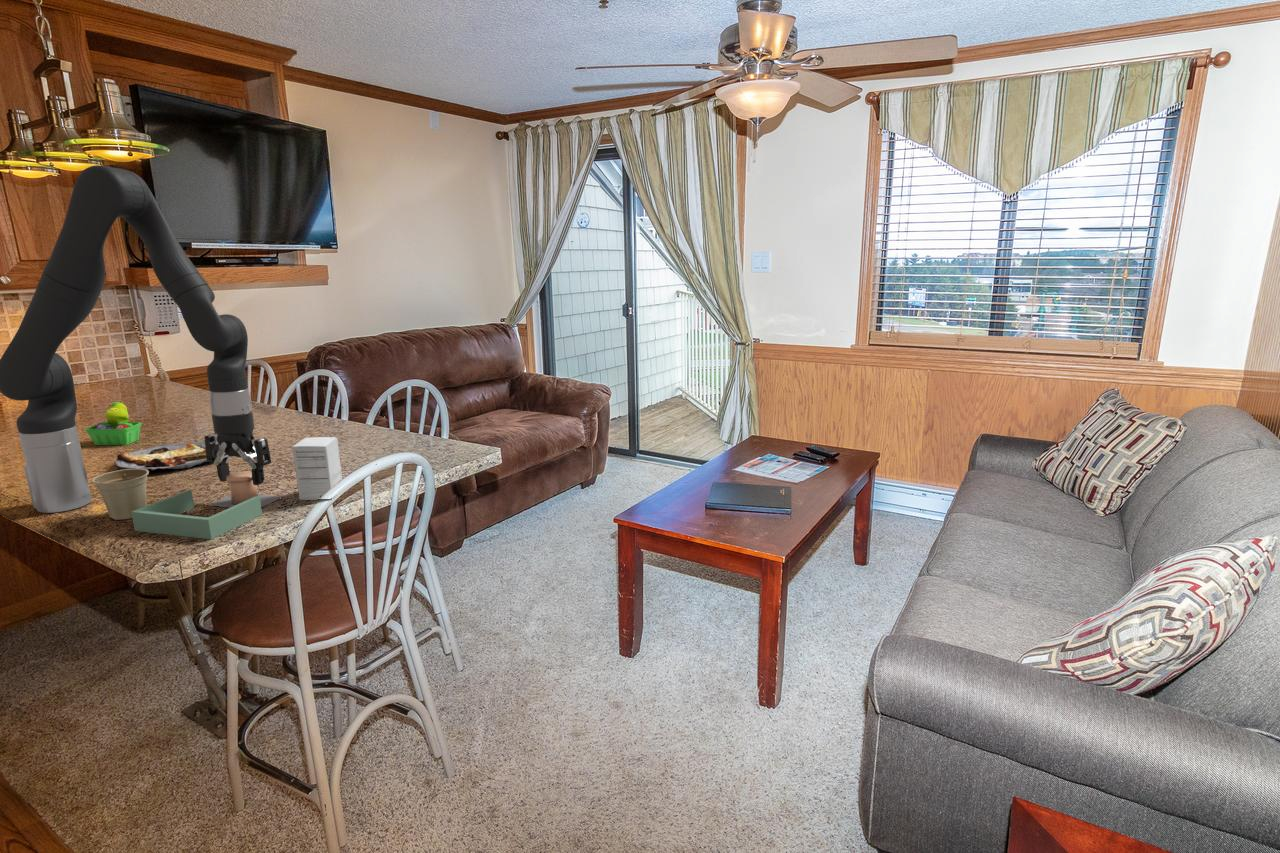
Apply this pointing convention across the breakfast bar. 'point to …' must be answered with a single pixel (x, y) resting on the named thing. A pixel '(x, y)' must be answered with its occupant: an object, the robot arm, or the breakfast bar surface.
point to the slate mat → (228, 503)
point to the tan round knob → (241, 486)
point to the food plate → (164, 456)
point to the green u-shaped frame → (192, 517)
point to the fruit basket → (115, 428)
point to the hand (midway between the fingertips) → (241, 482)
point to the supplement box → (316, 466)
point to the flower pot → (123, 491)
